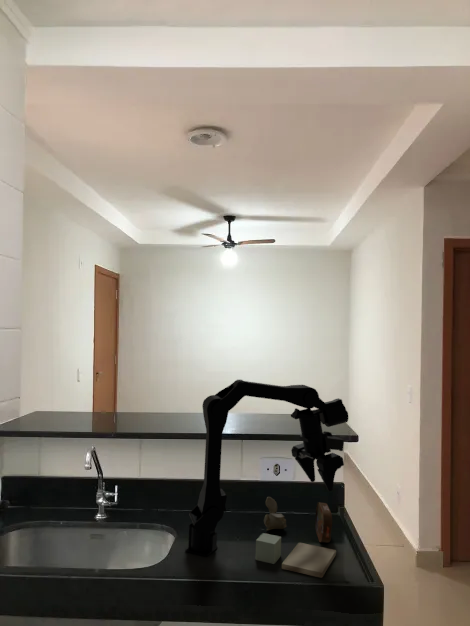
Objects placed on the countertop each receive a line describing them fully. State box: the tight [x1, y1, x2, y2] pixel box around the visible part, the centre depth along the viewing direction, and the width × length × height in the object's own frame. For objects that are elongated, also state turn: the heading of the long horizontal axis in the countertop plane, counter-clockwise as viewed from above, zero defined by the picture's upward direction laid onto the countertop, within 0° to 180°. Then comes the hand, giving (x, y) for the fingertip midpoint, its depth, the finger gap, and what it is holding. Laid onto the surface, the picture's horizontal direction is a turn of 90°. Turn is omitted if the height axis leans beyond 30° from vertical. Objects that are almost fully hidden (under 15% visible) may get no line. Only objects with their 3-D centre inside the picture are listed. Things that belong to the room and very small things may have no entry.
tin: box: [314, 501, 333, 544], centre depth 151 cm, size 15×3×8 cm, turn 178°
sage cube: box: [255, 532, 282, 565], centre depth 136 cm, size 5×5×5 cm
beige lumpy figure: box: [263, 496, 287, 531], centre depth 156 cm, size 9×6×10 cm
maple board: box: [281, 542, 337, 579], centre depth 135 cm, size 10×14×1 cm
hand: (321, 486), depth 147 cm, fingers open, 9 cm apart
